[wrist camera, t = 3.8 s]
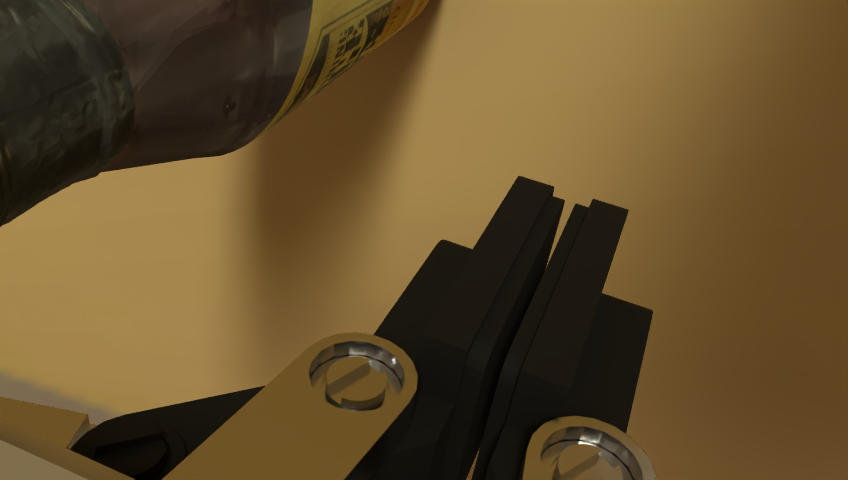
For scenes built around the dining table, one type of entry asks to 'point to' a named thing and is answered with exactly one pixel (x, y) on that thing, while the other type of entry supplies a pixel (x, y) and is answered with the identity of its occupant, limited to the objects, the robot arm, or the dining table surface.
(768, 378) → the dining table surface
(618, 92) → the dining table surface
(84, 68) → the sauce bottle
